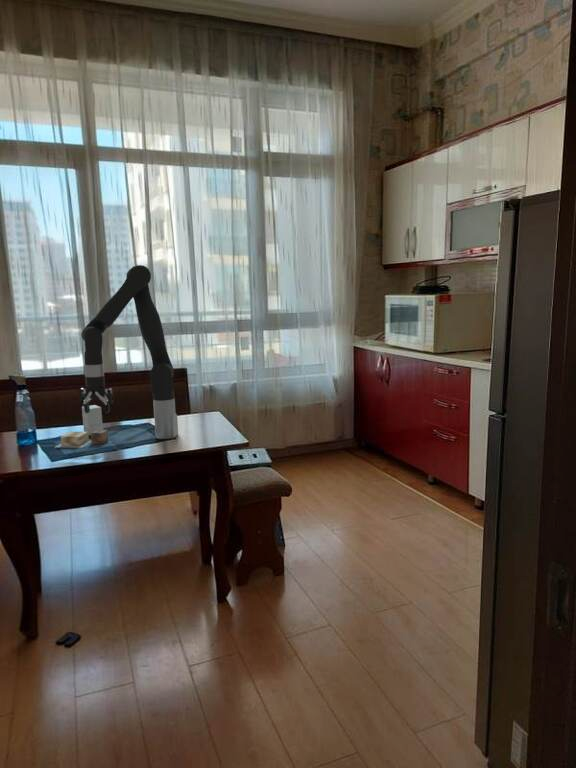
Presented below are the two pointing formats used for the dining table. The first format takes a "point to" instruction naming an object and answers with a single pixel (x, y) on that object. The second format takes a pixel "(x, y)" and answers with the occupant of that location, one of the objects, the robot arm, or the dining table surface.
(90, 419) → the small box
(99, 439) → the walnut block
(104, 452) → the dining table surface
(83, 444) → the board
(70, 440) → the beech block
